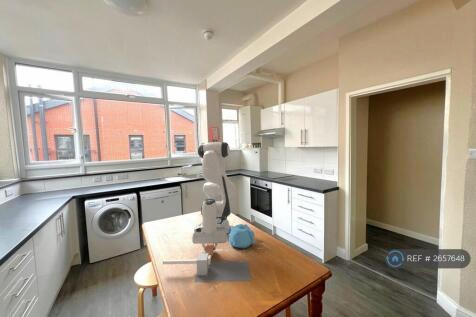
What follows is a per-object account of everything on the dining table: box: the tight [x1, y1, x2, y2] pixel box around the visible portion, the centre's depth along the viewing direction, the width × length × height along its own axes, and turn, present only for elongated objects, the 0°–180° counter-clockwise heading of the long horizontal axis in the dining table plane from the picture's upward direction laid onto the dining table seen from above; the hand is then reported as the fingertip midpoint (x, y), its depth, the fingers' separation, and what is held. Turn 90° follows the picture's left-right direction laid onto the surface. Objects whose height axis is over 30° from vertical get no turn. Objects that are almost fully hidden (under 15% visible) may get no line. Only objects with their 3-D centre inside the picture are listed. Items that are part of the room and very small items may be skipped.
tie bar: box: [162, 255, 212, 265], centre depth 98 cm, size 3×24×3 cm, turn 91°
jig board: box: [193, 252, 251, 283], centre depth 99 cm, size 16×27×9 cm, turn 91°
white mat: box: [199, 248, 224, 253], centre depth 114 cm, size 13×14×1 cm
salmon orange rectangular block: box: [204, 243, 215, 258], centre depth 113 cm, size 10×4×4 cm, turn 1°
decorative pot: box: [227, 223, 256, 250], centre depth 128 cm, size 16×16×14 cm
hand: (209, 249), depth 113 cm, fingers closed on salmon orange rectangular block, 4 cm apart
